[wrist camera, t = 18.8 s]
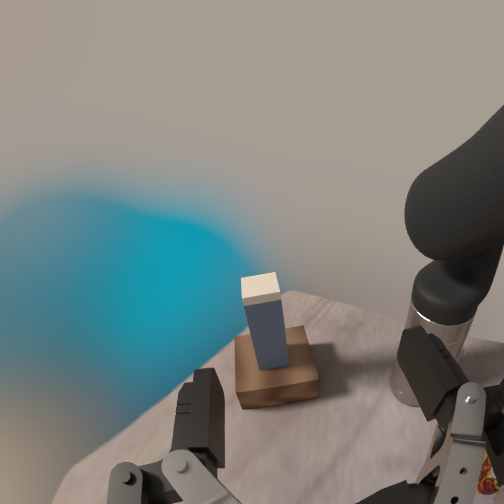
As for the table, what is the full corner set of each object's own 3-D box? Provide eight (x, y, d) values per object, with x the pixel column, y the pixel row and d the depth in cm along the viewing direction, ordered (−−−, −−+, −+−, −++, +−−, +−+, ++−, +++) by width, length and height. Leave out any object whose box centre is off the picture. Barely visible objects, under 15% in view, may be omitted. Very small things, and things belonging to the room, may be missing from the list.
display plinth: (304, 344, 50) (303, 325, 48) (318, 396, 40) (318, 378, 37) (240, 355, 51) (234, 336, 48) (242, 409, 40) (235, 392, 38)
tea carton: (285, 344, 45) (274, 272, 38) (289, 365, 41) (279, 291, 34) (256, 349, 45) (241, 278, 38) (259, 370, 41) (242, 298, 34)
